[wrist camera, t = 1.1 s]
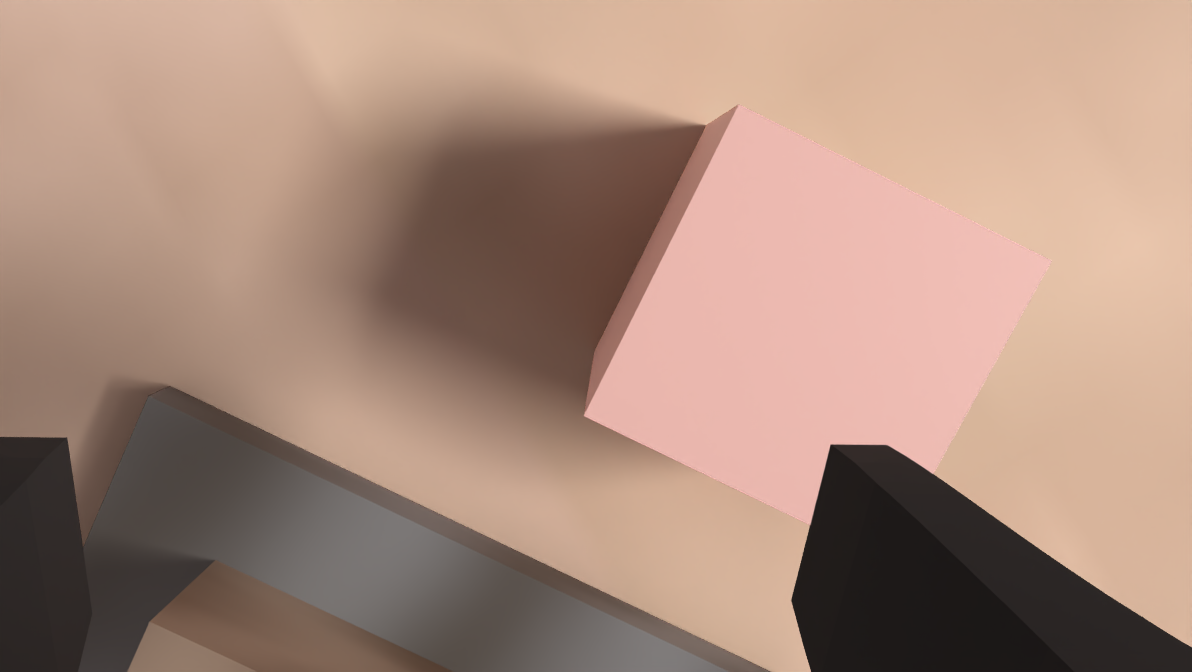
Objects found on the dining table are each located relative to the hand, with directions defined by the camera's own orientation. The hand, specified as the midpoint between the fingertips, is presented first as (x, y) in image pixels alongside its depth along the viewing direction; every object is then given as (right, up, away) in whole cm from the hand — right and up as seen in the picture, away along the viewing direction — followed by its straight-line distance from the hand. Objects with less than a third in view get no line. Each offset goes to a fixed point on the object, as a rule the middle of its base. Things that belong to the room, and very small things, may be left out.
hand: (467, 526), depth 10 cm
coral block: (+5, +3, +11) cm, 12 cm away
